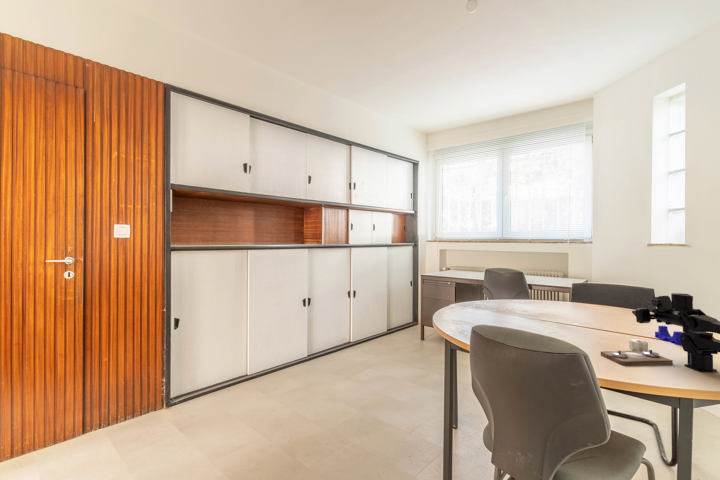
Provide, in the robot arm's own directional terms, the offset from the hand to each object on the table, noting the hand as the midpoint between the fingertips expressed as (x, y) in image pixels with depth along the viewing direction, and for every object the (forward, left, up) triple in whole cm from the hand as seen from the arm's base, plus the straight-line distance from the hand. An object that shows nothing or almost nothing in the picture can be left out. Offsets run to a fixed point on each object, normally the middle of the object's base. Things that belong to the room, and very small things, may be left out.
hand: (642, 311), depth 153 cm
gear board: (-14, +16, -17) cm, 27 cm away
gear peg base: (-14, +16, -15) cm, 26 cm away
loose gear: (-3, +5, -17) cm, 18 cm away
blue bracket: (+9, -20, -17) cm, 28 cm away
